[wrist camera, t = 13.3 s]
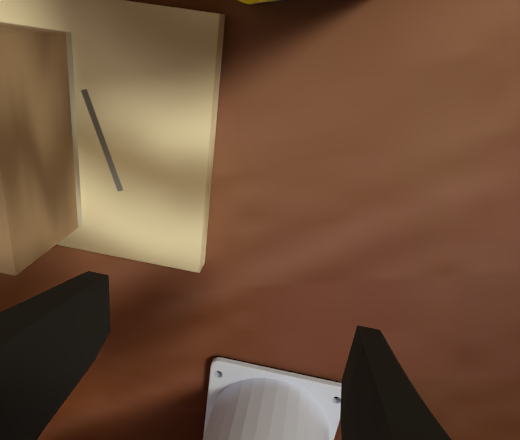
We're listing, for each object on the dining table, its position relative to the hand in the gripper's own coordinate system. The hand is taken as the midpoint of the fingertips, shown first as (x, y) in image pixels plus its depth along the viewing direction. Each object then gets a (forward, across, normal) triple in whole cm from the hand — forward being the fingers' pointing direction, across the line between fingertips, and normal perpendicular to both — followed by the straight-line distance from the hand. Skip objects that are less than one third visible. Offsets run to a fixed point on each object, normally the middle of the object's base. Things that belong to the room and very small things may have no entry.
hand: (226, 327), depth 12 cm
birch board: (+9, +12, -2) cm, 15 cm away
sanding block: (+8, +12, -2) cm, 14 cm away
